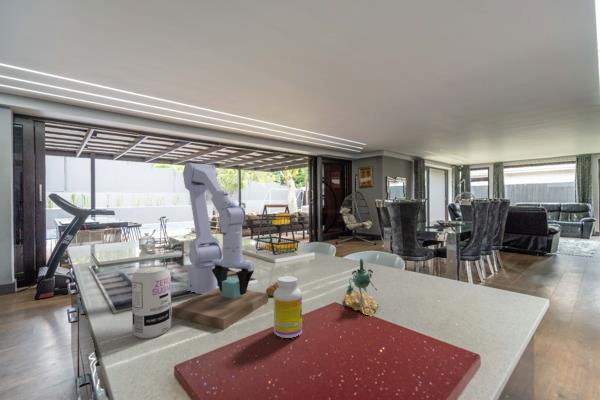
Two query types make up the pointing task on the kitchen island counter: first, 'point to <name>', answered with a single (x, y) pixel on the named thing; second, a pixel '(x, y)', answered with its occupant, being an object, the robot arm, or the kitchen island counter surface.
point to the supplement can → (151, 301)
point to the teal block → (231, 288)
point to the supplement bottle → (287, 308)
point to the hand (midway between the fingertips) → (233, 292)
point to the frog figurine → (357, 298)
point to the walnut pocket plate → (219, 308)
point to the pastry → (272, 289)
